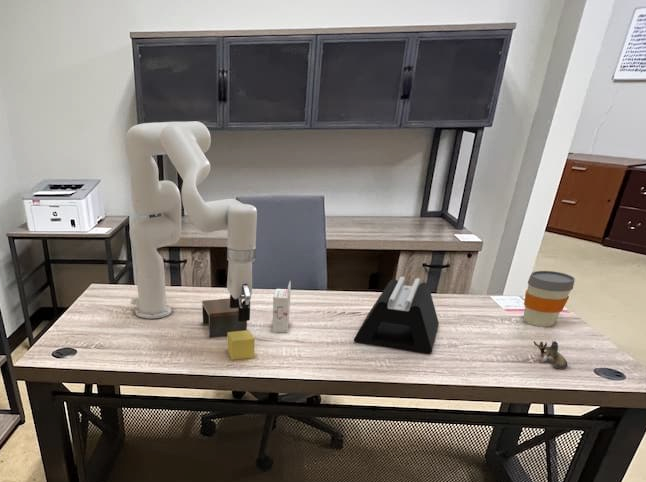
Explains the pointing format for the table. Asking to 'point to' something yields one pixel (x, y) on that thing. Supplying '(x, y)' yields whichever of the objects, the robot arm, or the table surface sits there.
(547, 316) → the reusable coffee cup
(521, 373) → the table surface
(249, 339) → the sticky-note cube
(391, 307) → the device stand
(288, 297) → the ink cartridge box
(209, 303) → the stand
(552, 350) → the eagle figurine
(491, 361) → the table surface
